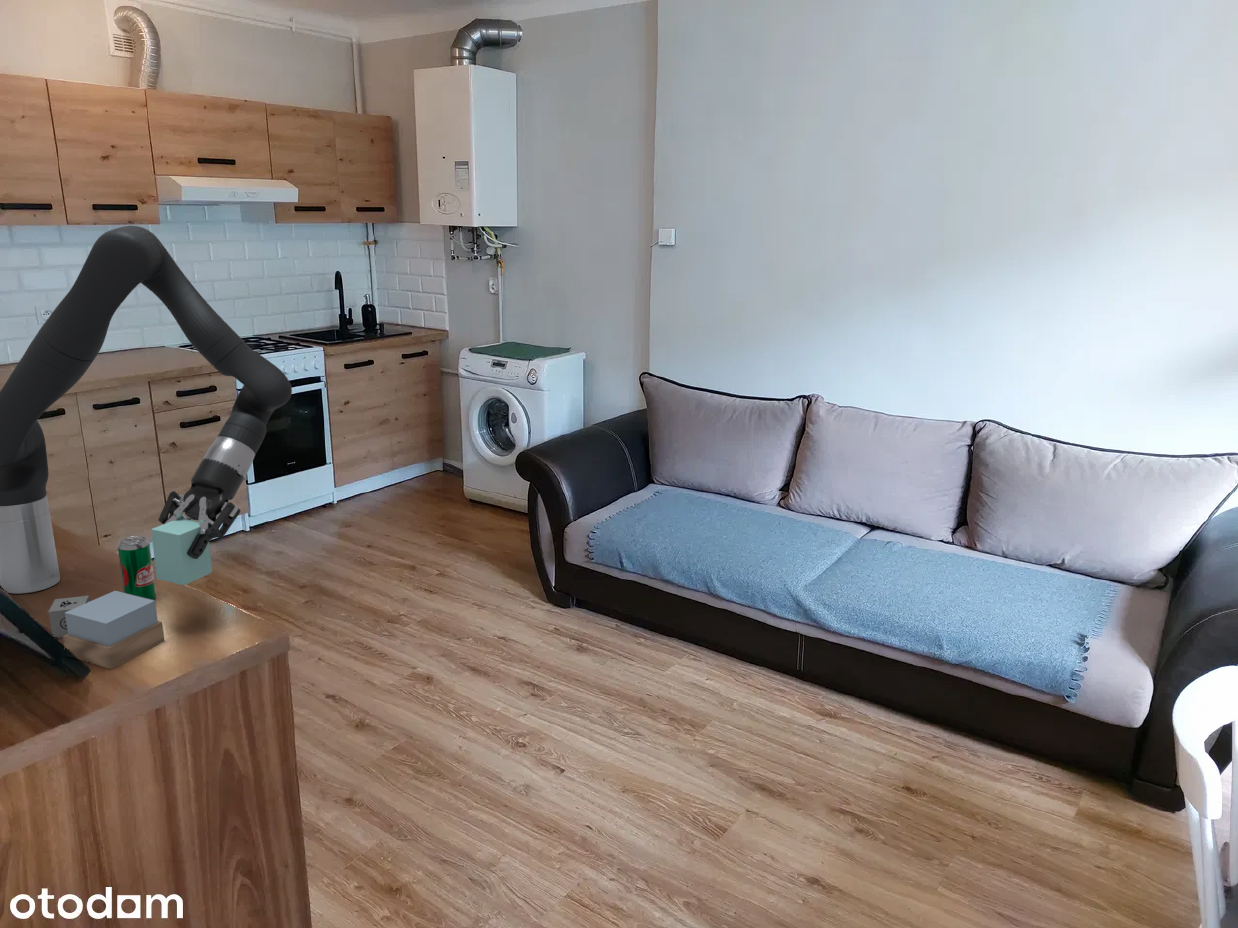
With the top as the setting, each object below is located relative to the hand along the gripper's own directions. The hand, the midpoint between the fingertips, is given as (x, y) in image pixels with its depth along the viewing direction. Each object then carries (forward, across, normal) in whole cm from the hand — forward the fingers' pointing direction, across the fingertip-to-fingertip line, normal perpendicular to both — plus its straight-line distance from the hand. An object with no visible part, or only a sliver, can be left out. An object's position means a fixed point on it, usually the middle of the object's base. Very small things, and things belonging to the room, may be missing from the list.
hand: (176, 553), depth 144 cm
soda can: (+7, -16, +14) cm, 22 cm away
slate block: (+14, -5, +1) cm, 15 cm away
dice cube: (+16, -17, +5) cm, 23 cm away
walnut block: (+17, -5, +4) cm, 18 cm away
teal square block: (+2, 0, +4) cm, 5 cm away
